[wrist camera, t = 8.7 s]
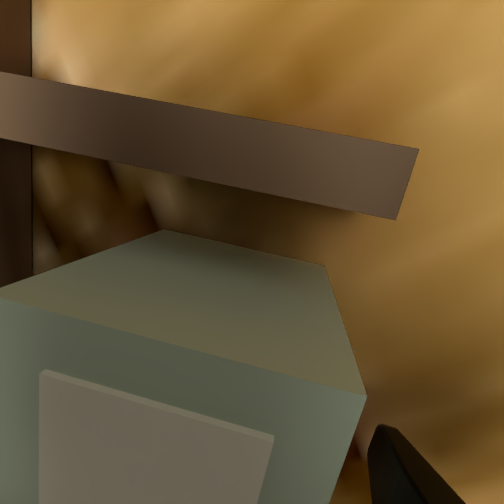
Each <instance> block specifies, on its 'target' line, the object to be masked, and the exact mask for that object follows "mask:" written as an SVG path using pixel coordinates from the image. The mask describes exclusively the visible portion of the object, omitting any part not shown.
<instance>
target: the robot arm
mask: <svg viewBox="0 0 504 504" xmlns="http://www.w3.org/2000/svg"><path fill="white" fill-rule="evenodd" d="M367 459H368V469H369V478H370V487H371V497H372V504H466V503H465V502H464V501H463V500H462V499H461V498H460V497H459V496H458V495H457V494H456V492H455V491H454V490H453V489H452V488H451V487H450V486H449V485H448V484H447V483H446V482H445V480H444V479H443V478H442V477H441V476H440V475H439V474H438V473H437V472H436V471H435V470H434V468H433V467H432V466H431V465H430V464H429V463H428V462H427V461H426V460H425V459H424V458H423V456H422V455H421V454H420V453H419V452H418V451H417V450H416V449H415V448H414V447H413V446H412V444H411V443H410V442H409V441H408V440H407V439H406V438H405V437H404V436H403V435H402V434H401V432H400V431H399V430H398V429H396V428H394V427H391V426H387V425H384V424H379V425H378V426H377V428H376V430H375V432H374V435H373V438H372V440H371V443H370V445H369V448H368V454H367Z"/></svg>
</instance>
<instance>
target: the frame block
mask: <svg viewBox="0 0 504 504" xmlns="http://www.w3.org/2000/svg"><path fill="white" fill-rule="evenodd" d="M366 399H367V394H366V391H365V388H364V385H363V382H362V379H361V376H360V372H359V369H358V366H357V363H356V360H355V357H354V354H353V351H352V348H351V345H350V342H349V339H348V336H347V333H346V330H345V326H344V323H343V320H342V317H341V314H340V311H339V308H338V305H337V302H336V299H335V296H334V293H333V290H332V287H331V283H330V280H329V277H328V274H327V271H326V268H325V266H323V265H319V264H315V263H310V262H306V261H301V260H297V259H293V258H288V257H284V256H279V255H275V254H271V253H266V252H262V251H258V250H253V249H249V248H244V247H240V246H236V245H231V244H227V243H222V242H218V241H214V240H209V239H205V238H201V237H196V236H192V235H187V234H183V233H179V232H174V231H170V230H166V229H163V230H161V231H158V232H155V233H152V234H149V235H147V236H144V237H141V238H138V239H135V240H133V241H130V242H127V243H124V244H121V245H119V246H116V247H113V248H110V249H107V250H105V251H102V252H99V253H96V254H93V255H91V256H88V257H85V258H82V259H79V260H77V261H74V262H71V263H68V264H66V265H63V266H60V267H57V268H54V269H52V270H49V271H46V272H43V273H40V274H38V275H35V276H32V277H29V278H26V279H24V280H21V281H18V282H15V283H12V284H10V285H7V286H4V287H1V288H0V504H329V502H330V499H331V496H332V493H333V491H334V488H335V485H336V482H337V480H338V477H339V474H340V471H341V468H342V466H343V463H344V460H345V457H346V455H347V452H348V449H349V446H350V443H351V441H352V438H353V435H354V432H355V430H356V427H357V424H358V421H359V418H360V416H361V413H362V410H363V407H364V405H365V402H366Z"/></svg>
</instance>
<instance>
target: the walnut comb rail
mask: <svg viewBox="0 0 504 504" xmlns="http://www.w3.org/2000/svg"><path fill="white" fill-rule="evenodd" d="M31 144H32V145H37V146H42V147H47V148H52V149H56V150H61V151H66V152H71V153H75V154H80V155H85V156H90V157H95V158H99V159H104V160H109V161H114V162H119V163H123V164H128V165H133V166H138V167H142V168H147V169H152V170H157V171H162V172H166V173H171V174H176V175H181V176H186V177H190V178H195V179H200V180H205V181H209V182H214V183H219V184H224V185H229V186H233V187H238V188H243V189H248V190H253V191H257V192H262V193H267V194H272V195H276V196H281V197H286V198H291V199H296V200H300V201H305V202H310V203H315V204H319V205H324V206H329V207H334V208H339V209H343V210H348V211H353V212H358V213H363V214H367V215H372V216H377V217H382V218H386V219H391V220H396V218H397V215H398V212H399V209H400V206H401V203H402V200H403V197H404V194H405V191H406V188H407V185H408V182H409V179H410V176H411V173H412V170H413V167H414V164H415V161H416V158H417V155H418V152H419V149H416V148H411V147H406V146H400V145H395V144H389V143H384V142H379V141H373V140H368V139H362V138H357V137H352V136H346V135H341V134H335V133H330V132H324V131H319V130H314V129H308V128H303V127H297V126H292V125H287V124H281V123H276V122H270V121H265V120H260V119H254V118H249V117H243V116H238V115H233V114H227V113H222V112H216V111H211V110H206V109H200V108H195V107H189V106H184V105H179V104H173V103H168V102H162V101H157V100H152V99H146V98H141V97H135V96H130V95H124V94H119V93H114V92H108V91H103V90H97V89H92V88H87V87H81V86H76V85H70V84H65V83H60V82H54V81H49V80H43V79H38V78H33V77H31V27H30V0H0V288H1V287H4V286H7V285H10V284H12V283H15V282H18V281H21V280H24V279H26V278H29V277H32V227H31Z"/></svg>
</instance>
